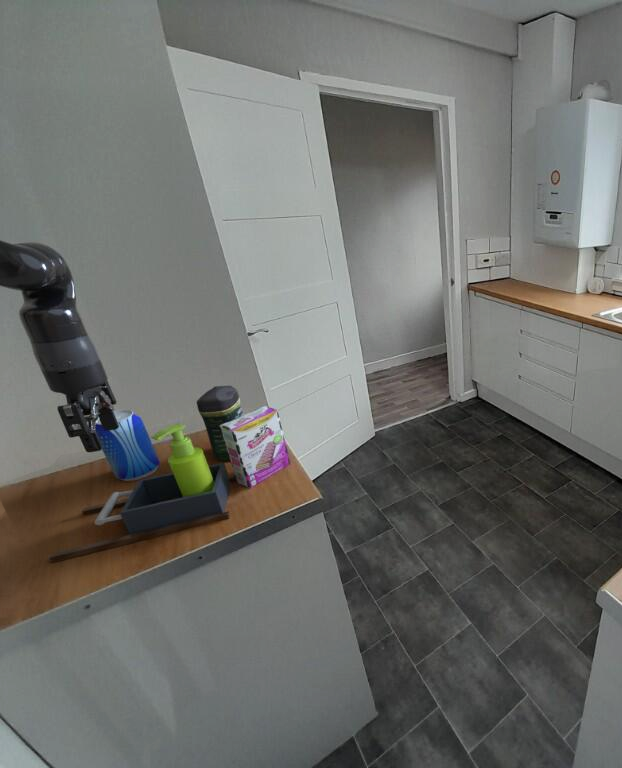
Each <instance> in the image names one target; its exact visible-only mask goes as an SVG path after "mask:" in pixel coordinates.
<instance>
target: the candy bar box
mask: <svg viewBox="0 0 622 768" xmlns="http://www.w3.org/2000/svg"><path fill="white" fill-rule="evenodd" d="M220 428H221V432H222V435H223V438H224V441H225V444H226V447H227V451H228V453H229V457H230V460H231V461H230V463H231V466H232V470H233V473H234V476H236V479H237V481H236V482H237V484H239V485H241V486H243V487H245V488H247V489H249V490H250V489H252V488H254V487H256V486H257V485H259V484H260V483H262V482H264V481H265V480H267V479H269V478H270V477H272V476H274V475H275V474H278V473H279V472H280V471H281V470H283V469H285V468H287V467H288V466H290V465H291V460H290V456H289V452H288V448H287V443H286V439H285V435H284V431H283V426H282V423H281V418H280V415H279V410H278V409H277V408H276V409H275V408H273V407H270V406H267V405H263V406H261V407H259V408H256V409H254V410H252V411H249V412H248V413H246V414H243V416H241V417H238V418H236V419H234V420H231V421H229V422H227V423H224V424H222V425H220Z"/></svg>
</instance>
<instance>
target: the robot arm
mask: <svg viewBox="0 0 622 768" xmlns="http://www.w3.org/2000/svg"><path fill="white" fill-rule="evenodd" d="M0 287H2V288H5V289H9V290H12V291H13V290H14V291H18V292H19V291H20V292H21V295H22V299H23V304H21V307H20V308H19V310H18V316H19V317H18V318H19V320H20V323H21V325H22V327H23V330H24V332H25V334H26V336H27V337H28V340H29V342H30V345H31V349H32V354H33V356H34V358H35V360H36V362H37V364H38V367H39V369H40V371H41V373H42V375H43V377H44V379H45V382H46V384H47V386H48V388H49V390H50V391H51V392H53V393H57V394H62V395H64V396H65V399H66V404H63V405H57V412H58V414H59V417H60V419H61V421H62V424H63V426H64V429H65V431H66V433H67V436H68V437H69V438H70V439H71V438H76V437H79V439H80V442H81V443H82V445H83V448H84V450H85V452H87V453H95V452H100V451H102V448H103V445H102V443H101V441H100V439H99V436H98V434H97V432H96V429H95V425H96V423H95V421H97V420H98V417H99V420H100V422H101V424H102V427H103V429H104V430H105V431H109V430H116V429H118V427H119V424H118V422H117V419H116V417H115V414H114V411H115V406H114V405H117V399H116V397H115V395H114V393H113V390H112V388H111V386H110V383H109V381H108V374H107V372H106V370H105V368H104V366H103V363H102V360H101V358H100V355H99V353H98V350H97V348H96V345H95V343H94V342H93V340H92V339H91V337H90V335H89V333H88V330H87V328H86V325H85V323H84V321H83V319H82V316H81V314H80V311H79V310H78V304H77V294H76V288H75V283H74V276H73V274H72V271H71V268H70V265H69V264H68V262H67V261H66V259H65V257H64V256H63V255H62V254H61V253H60V252H58V251H57V250H56V249H55V248H53V247H51V246H49V245H48V244H44V243H40V242H34V241H26V242H19V243H11V242H7V241H4V240H1V239H0Z"/></svg>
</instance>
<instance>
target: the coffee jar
mask: <svg viewBox="0 0 622 768" xmlns="http://www.w3.org/2000/svg"><path fill="white" fill-rule="evenodd" d="M196 406H197V411H198V413H199V415H200V416H201V418H202V420H203V423H204V427H205V429H206V434H207V437H208V440H209V443H210V448H211V451H212V455H213V457H214V460H215V461H216V462H220V463H225V462H231V460H230V457H229V453H228V451H227V447H226V444H225V441H224V438H223V435H222V432H221V428H220V425H222V424H224V423H227V422H229V421H231V420H234V419H236V418H238V417H241V416H243V415H244V413H243V409H242V402H241V397H240V394H239V391H238V389H237V388H235V387H234V386H232V385H216V386H213V387H212V388H211V389H209V390H207V391H206V392H204V394H202V395H201V396H200V397H199V398H198V399H197V400H196Z"/></svg>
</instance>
